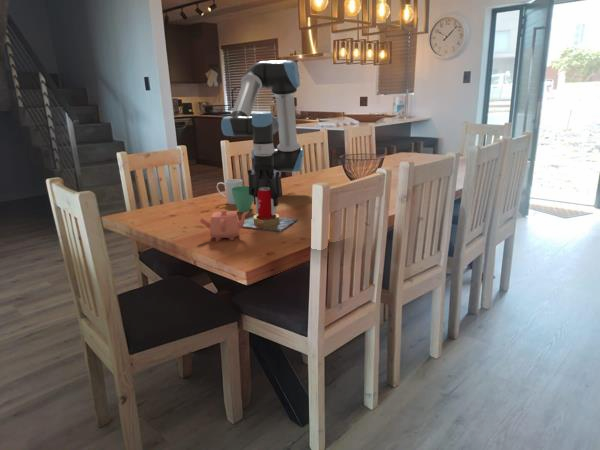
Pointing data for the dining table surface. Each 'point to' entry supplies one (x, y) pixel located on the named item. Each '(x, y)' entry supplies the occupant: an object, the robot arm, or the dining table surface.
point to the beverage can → (264, 203)
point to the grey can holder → (268, 223)
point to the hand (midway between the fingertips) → (266, 213)
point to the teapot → (224, 224)
